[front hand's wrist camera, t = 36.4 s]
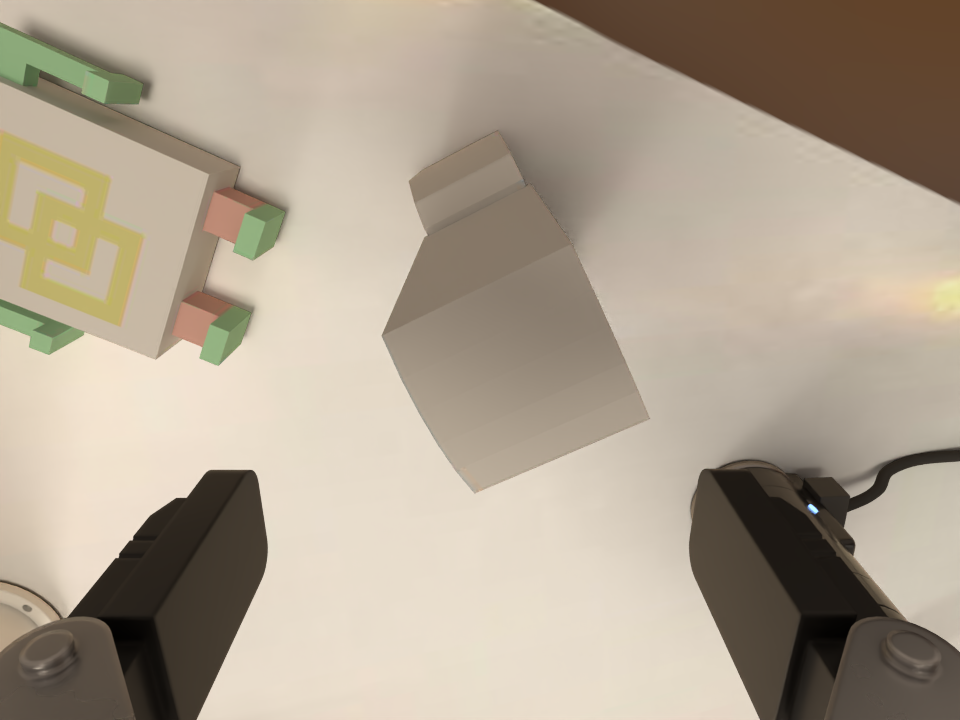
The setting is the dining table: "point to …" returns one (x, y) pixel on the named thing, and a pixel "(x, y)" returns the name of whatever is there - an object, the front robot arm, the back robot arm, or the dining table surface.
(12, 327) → the decorative block
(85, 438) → the dining table surface
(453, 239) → the electronic device
